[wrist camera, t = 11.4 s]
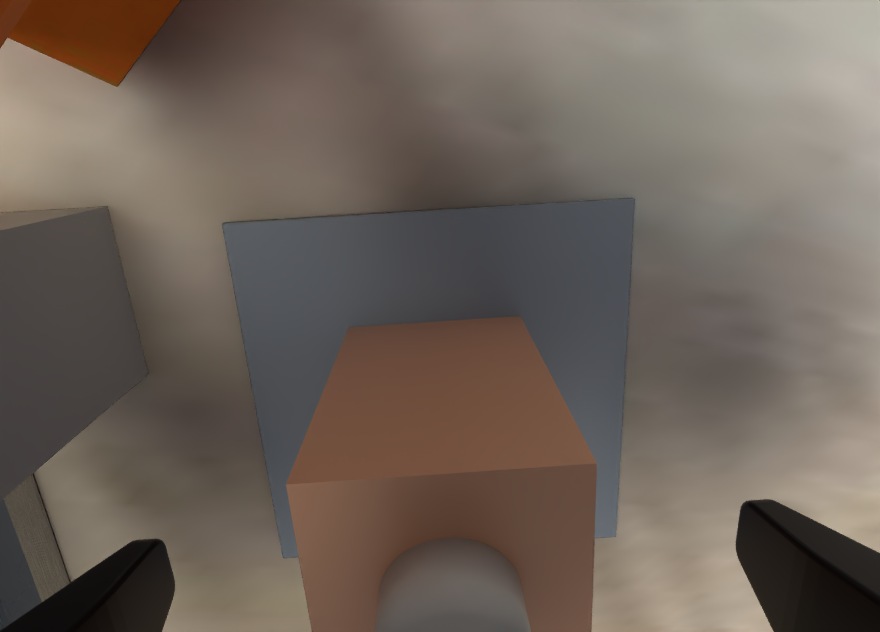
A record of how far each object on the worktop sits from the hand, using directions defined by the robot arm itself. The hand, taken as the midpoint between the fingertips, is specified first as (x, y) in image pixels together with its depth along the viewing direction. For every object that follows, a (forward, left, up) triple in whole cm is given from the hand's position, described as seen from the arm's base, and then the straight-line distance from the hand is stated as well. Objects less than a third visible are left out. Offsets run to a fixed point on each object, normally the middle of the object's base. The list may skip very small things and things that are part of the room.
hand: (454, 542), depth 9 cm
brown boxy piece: (0, 0, -5) cm, 5 cm away
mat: (0, 0, -5) cm, 5 cm away
